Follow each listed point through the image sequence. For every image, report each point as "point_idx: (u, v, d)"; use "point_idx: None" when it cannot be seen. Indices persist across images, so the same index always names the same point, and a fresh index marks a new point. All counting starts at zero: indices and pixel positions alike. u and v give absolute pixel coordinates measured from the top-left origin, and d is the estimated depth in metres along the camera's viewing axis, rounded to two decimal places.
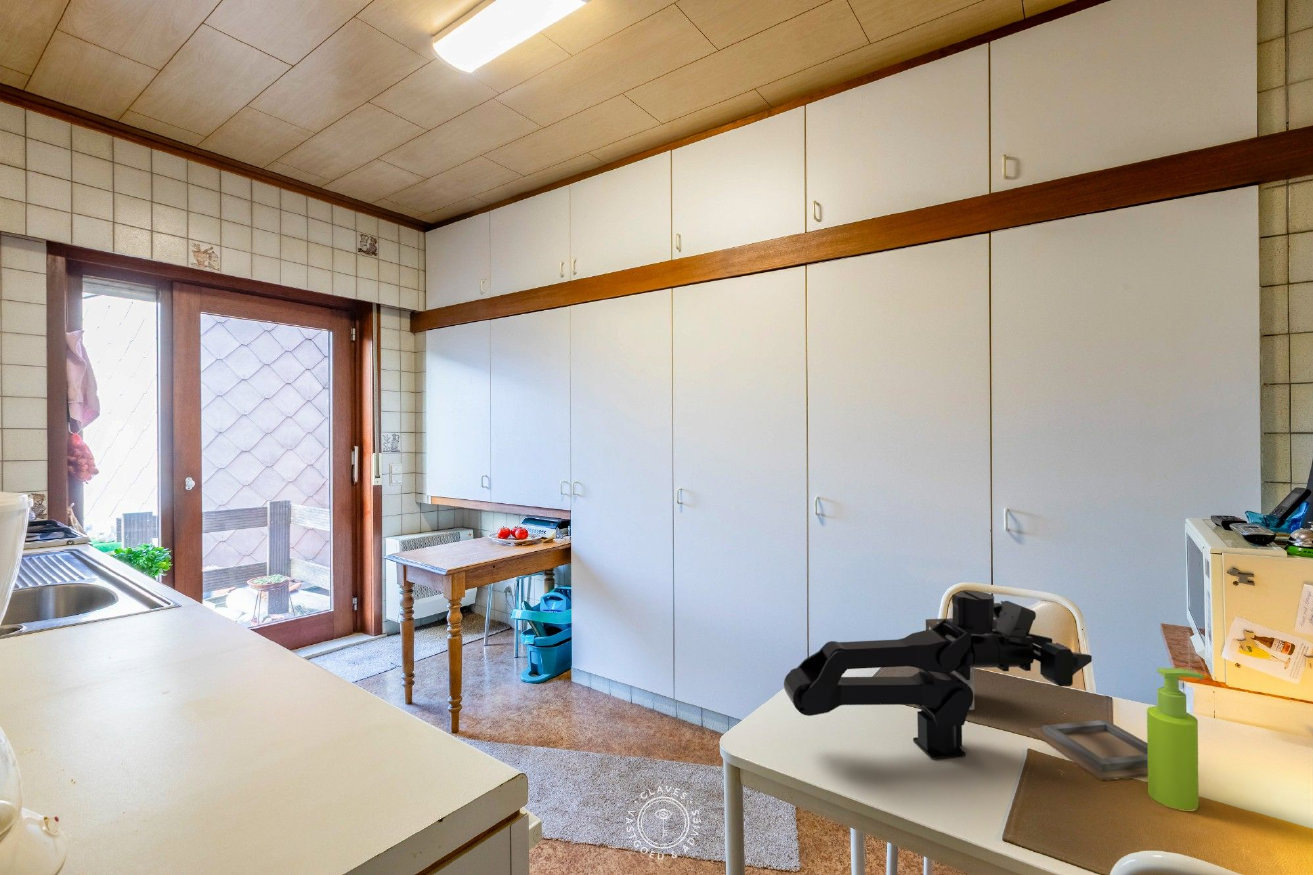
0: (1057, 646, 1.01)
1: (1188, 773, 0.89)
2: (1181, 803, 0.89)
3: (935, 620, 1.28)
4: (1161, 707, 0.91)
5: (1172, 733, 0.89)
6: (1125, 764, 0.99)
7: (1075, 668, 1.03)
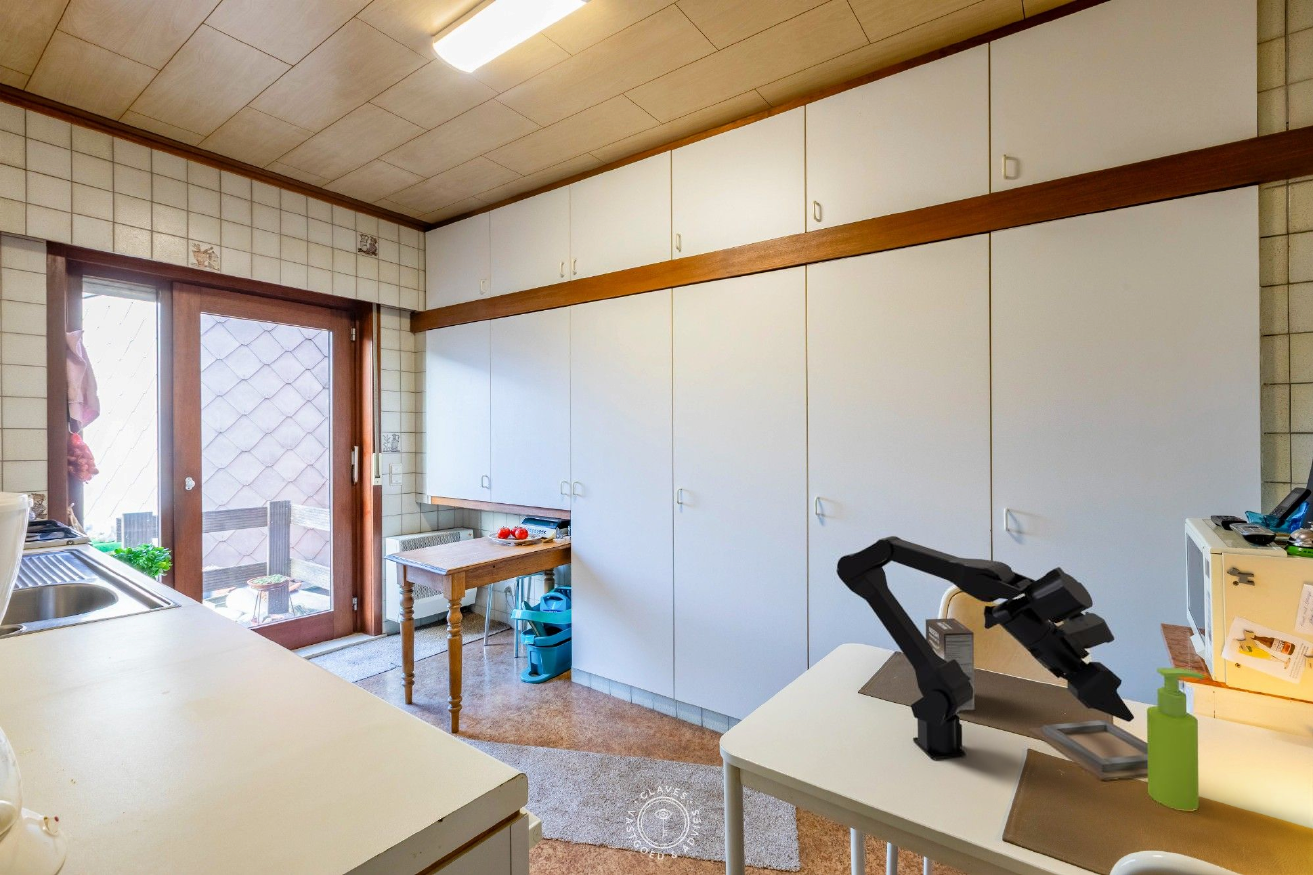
0: None
1: (1188, 773, 0.89)
2: (1181, 803, 0.89)
3: (935, 620, 1.28)
4: (1161, 707, 0.91)
5: (1172, 733, 0.89)
6: (1125, 764, 0.99)
7: (1107, 708, 0.88)
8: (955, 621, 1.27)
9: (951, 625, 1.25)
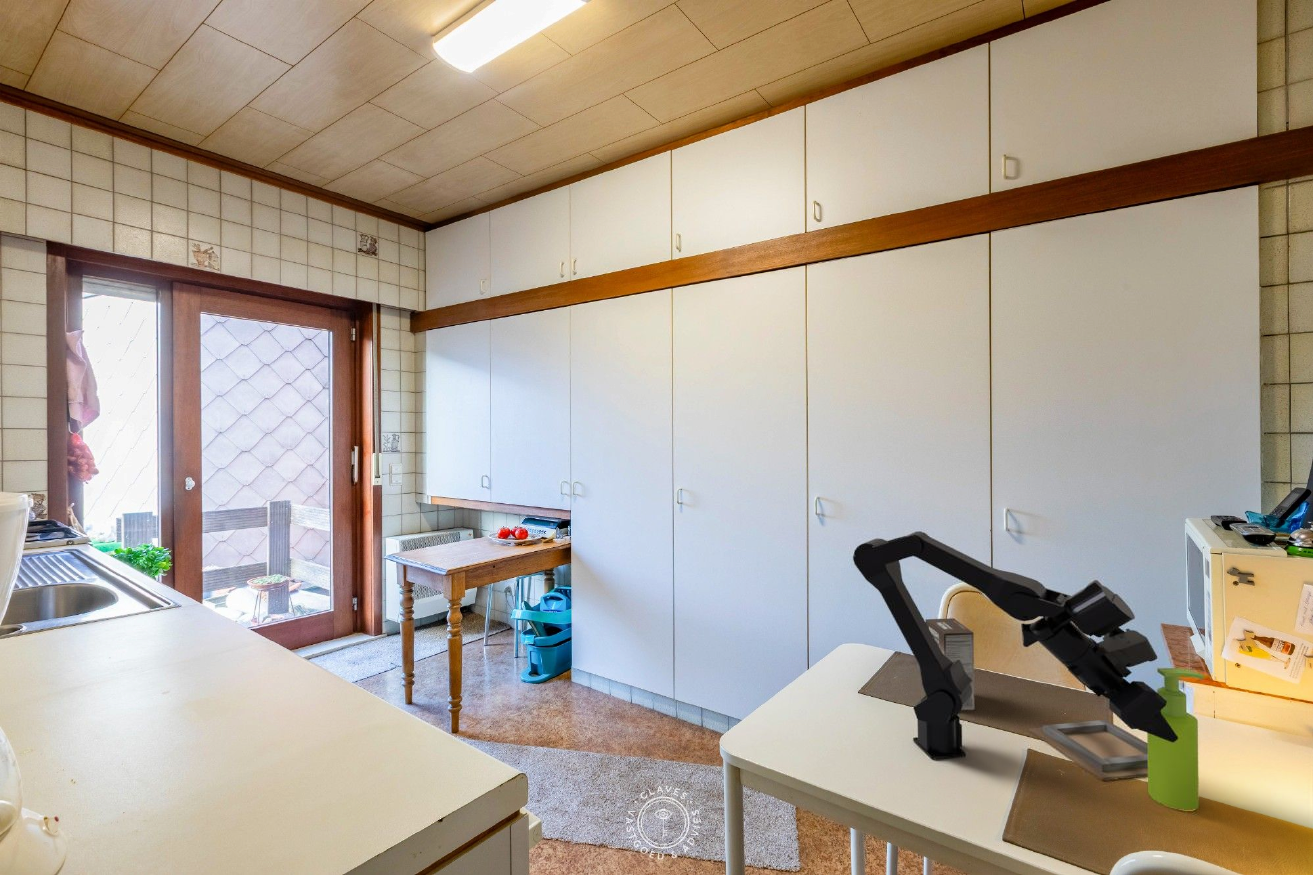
0: None
1: (1188, 773, 0.89)
2: (1181, 803, 0.89)
3: (935, 620, 1.28)
4: None
5: None
6: (1125, 764, 0.99)
7: (1150, 728, 0.87)
8: (955, 621, 1.28)
9: (951, 625, 1.25)
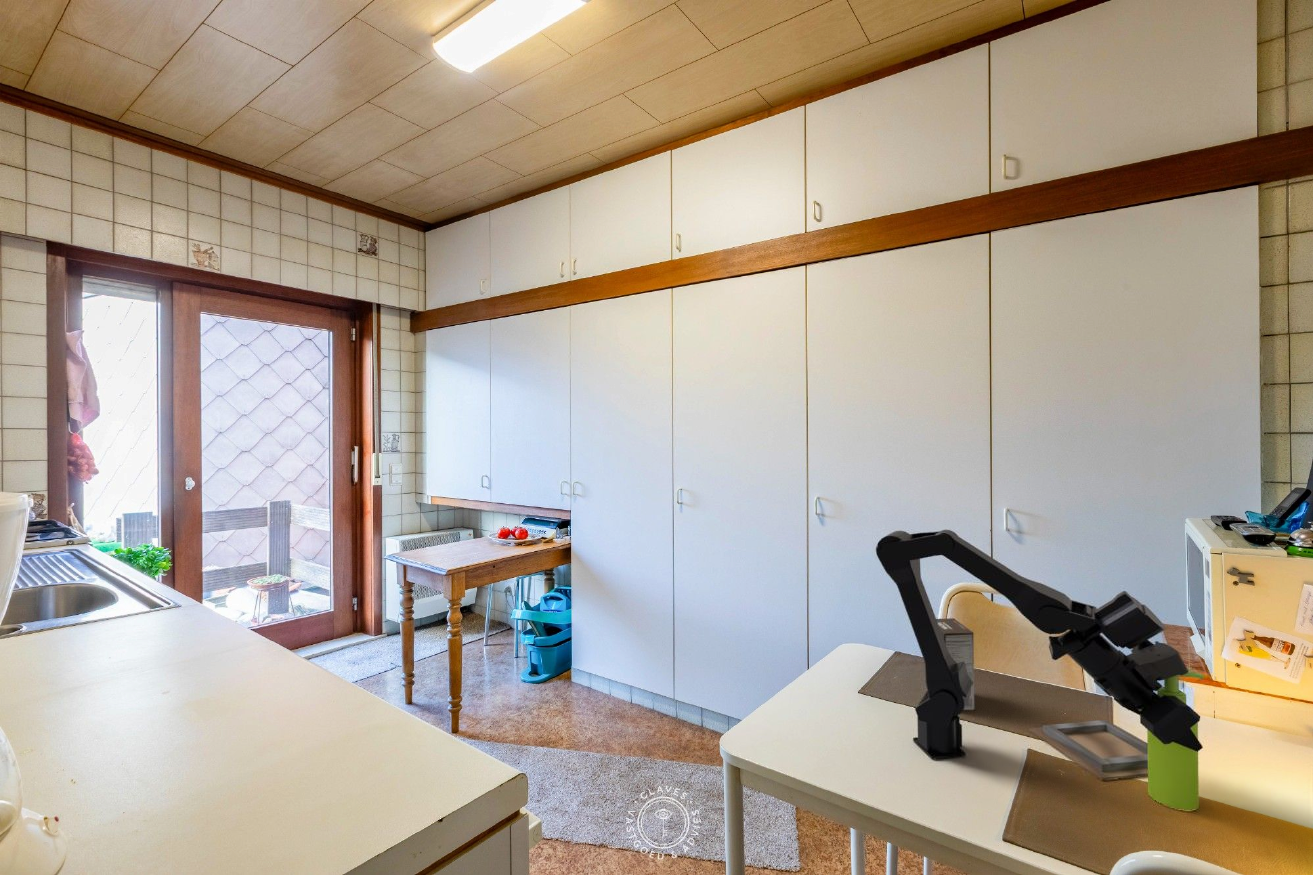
0: None
1: (1188, 772, 0.89)
2: (1181, 803, 0.89)
3: None
4: None
5: None
6: (1125, 764, 0.99)
7: None
8: (955, 621, 1.28)
9: (951, 625, 1.25)
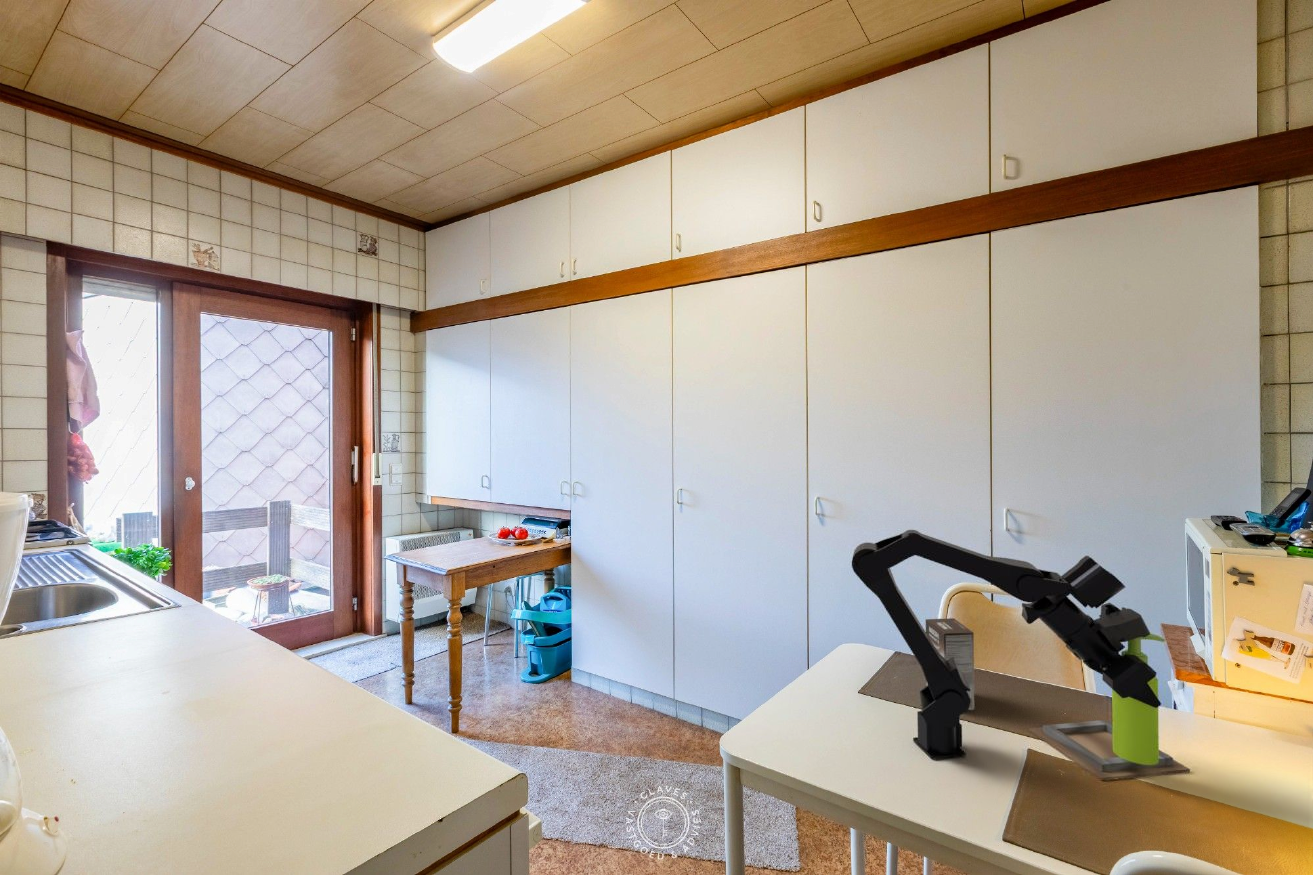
0: None
1: (1148, 728, 0.95)
2: (1141, 757, 0.95)
3: (935, 620, 1.28)
4: None
5: None
6: (1125, 764, 0.99)
7: (1135, 694, 0.94)
8: (955, 621, 1.28)
9: (951, 625, 1.25)
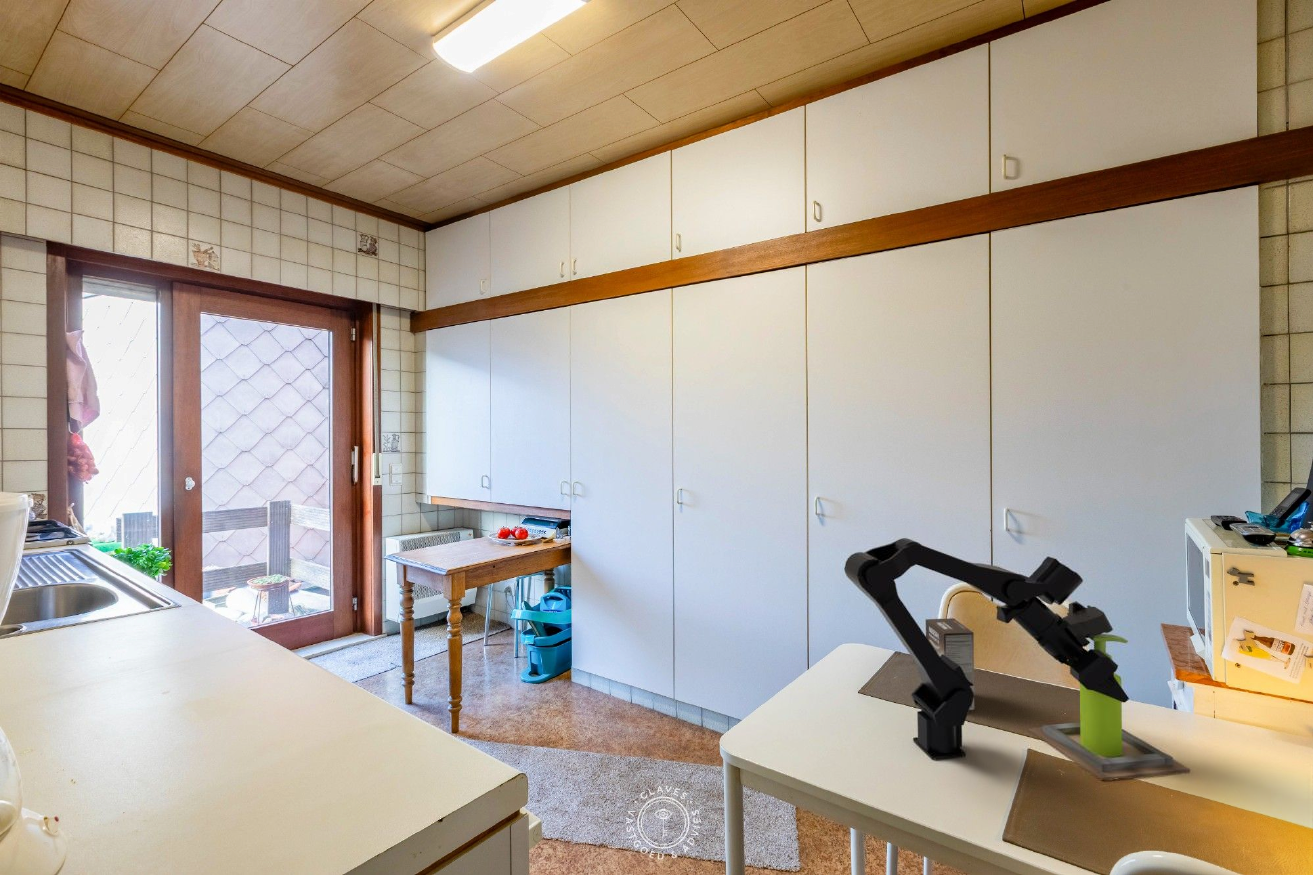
0: None
1: (1112, 723, 1.02)
2: (1106, 750, 1.03)
3: (935, 620, 1.28)
4: None
5: None
6: (1125, 764, 0.99)
7: (1105, 690, 1.00)
8: (955, 621, 1.28)
9: (951, 625, 1.25)
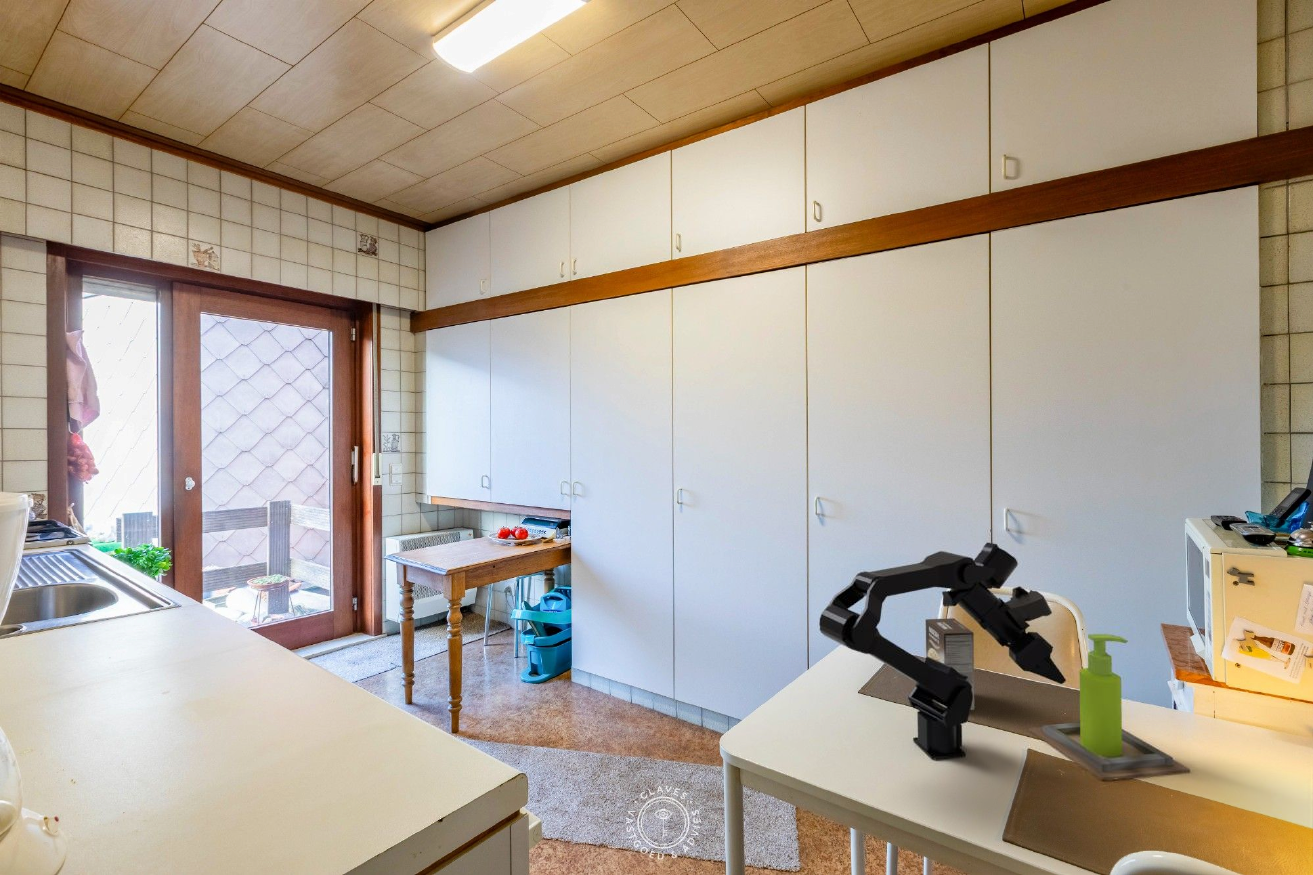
0: None
1: (1112, 723, 1.02)
2: (1106, 750, 1.03)
3: (935, 620, 1.28)
4: (1090, 668, 1.05)
5: (1099, 689, 1.03)
6: (1125, 764, 0.99)
7: (1042, 672, 1.02)
8: (955, 621, 1.28)
9: (951, 625, 1.25)
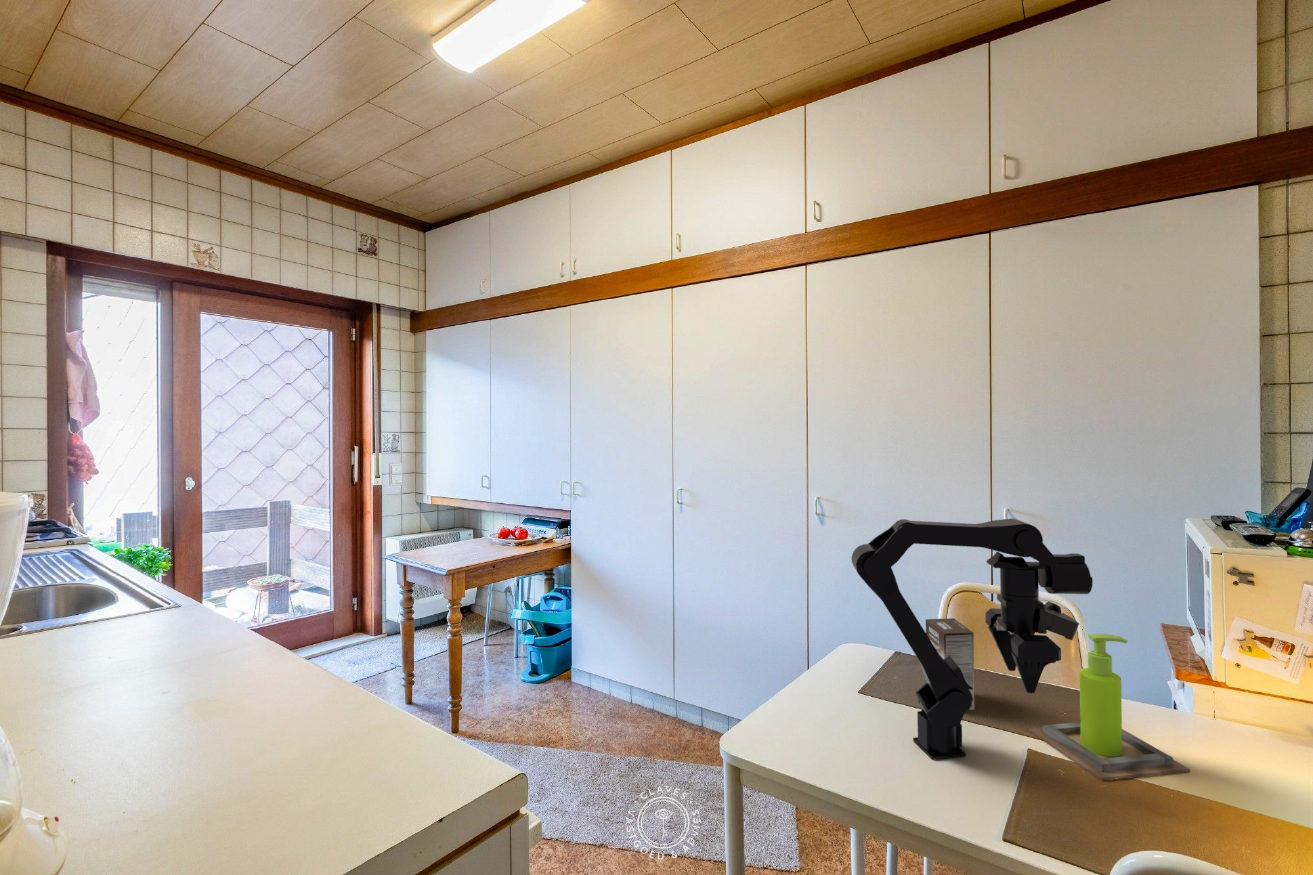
0: None
1: (1112, 723, 1.02)
2: (1106, 750, 1.03)
3: (935, 620, 1.28)
4: (1091, 667, 1.05)
5: (1099, 689, 1.03)
6: (1125, 764, 0.99)
7: (1025, 671, 0.99)
8: (955, 621, 1.28)
9: (951, 625, 1.25)
